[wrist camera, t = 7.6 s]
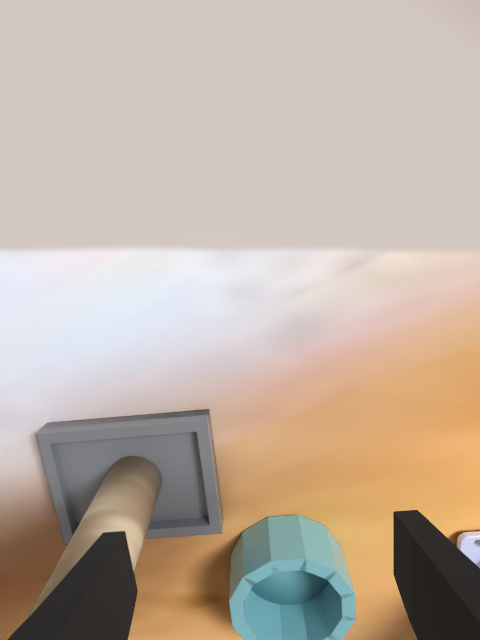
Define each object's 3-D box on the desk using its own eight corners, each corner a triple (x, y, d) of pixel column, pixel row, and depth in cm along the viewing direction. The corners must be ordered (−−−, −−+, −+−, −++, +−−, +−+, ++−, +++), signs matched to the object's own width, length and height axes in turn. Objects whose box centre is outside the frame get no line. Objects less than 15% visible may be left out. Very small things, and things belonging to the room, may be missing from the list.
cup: (339, 511, 22) (353, 555, 19) (343, 600, 24) (356, 653, 21) (226, 520, 22) (223, 564, 19) (238, 607, 24) (237, 660, 21)
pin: (157, 452, 20) (103, 591, 13) (166, 499, 21) (120, 658, 13) (103, 458, 21) (17, 599, 13) (114, 504, 21) (39, 664, 14)
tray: (209, 409, 20) (207, 420, 19) (223, 517, 22) (221, 533, 21) (47, 422, 21) (36, 434, 20) (73, 528, 22) (64, 544, 21)
